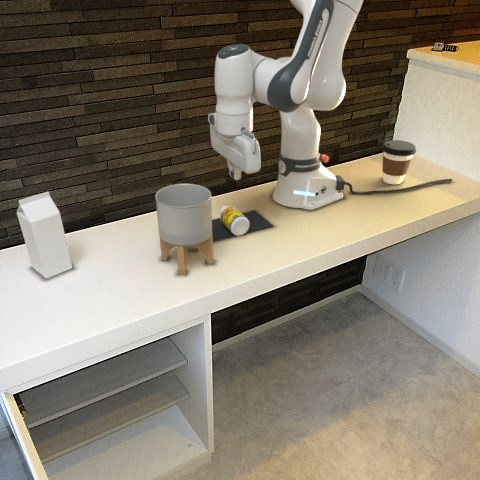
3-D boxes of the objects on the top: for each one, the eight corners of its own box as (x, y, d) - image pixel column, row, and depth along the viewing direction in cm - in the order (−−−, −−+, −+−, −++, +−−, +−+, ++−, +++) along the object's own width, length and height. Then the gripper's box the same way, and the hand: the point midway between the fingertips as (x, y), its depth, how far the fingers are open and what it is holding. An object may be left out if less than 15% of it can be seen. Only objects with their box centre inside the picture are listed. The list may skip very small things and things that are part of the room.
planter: (155, 272, 122) (148, 204, 111) (168, 245, 132) (163, 181, 121) (207, 276, 121) (205, 209, 110) (217, 249, 131) (215, 185, 120)
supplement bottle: (228, 233, 134) (213, 218, 141) (244, 238, 137) (229, 223, 145) (237, 215, 132) (221, 200, 139) (253, 220, 135) (237, 205, 142)
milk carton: (72, 268, 123) (56, 196, 111) (46, 279, 119) (26, 205, 107) (58, 257, 127) (41, 186, 115) (32, 267, 123) (11, 195, 111)
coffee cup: (378, 186, 164) (385, 150, 157) (373, 174, 173) (379, 139, 165) (412, 187, 164) (420, 151, 157) (404, 174, 173) (412, 139, 165)
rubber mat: (254, 211, 149) (254, 210, 149) (273, 226, 142) (273, 225, 141) (192, 225, 142) (192, 224, 141) (209, 242, 134) (209, 241, 134)
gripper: (267, 133, 113) (266, 190, 122) (227, 109, 127) (228, 162, 136) (243, 137, 111) (243, 195, 120) (204, 113, 125) (207, 166, 134)
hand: (235, 177), depth 128 cm, fingers closed
